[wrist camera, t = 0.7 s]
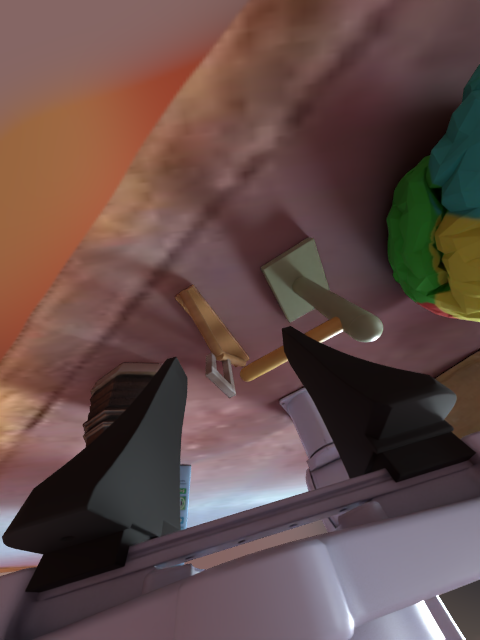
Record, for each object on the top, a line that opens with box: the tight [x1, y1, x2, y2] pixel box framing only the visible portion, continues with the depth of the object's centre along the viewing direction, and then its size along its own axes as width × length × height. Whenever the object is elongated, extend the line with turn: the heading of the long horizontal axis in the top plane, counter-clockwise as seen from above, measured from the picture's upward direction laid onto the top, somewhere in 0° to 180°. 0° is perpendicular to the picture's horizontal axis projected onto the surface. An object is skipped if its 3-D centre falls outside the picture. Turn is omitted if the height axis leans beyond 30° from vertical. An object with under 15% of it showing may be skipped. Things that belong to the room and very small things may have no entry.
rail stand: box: [240, 238, 383, 382], centre depth 16 cm, size 8×13×12 cm, turn 120°
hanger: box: [175, 285, 249, 398], centre depth 18 cm, size 14×2×9 cm, turn 31°
